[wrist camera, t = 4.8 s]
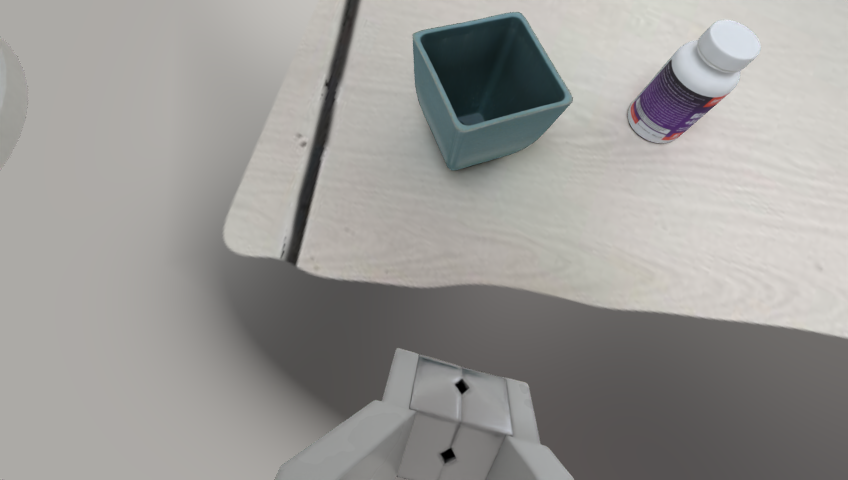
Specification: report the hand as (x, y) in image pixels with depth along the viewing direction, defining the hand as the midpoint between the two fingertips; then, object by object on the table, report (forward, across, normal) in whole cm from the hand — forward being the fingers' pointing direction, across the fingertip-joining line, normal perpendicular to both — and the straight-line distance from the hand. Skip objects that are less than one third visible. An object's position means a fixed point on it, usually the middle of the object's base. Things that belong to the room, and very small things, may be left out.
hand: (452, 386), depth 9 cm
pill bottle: (+35, -17, -6) cm, 40 cm away
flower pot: (+30, 0, -1) cm, 30 cm away
